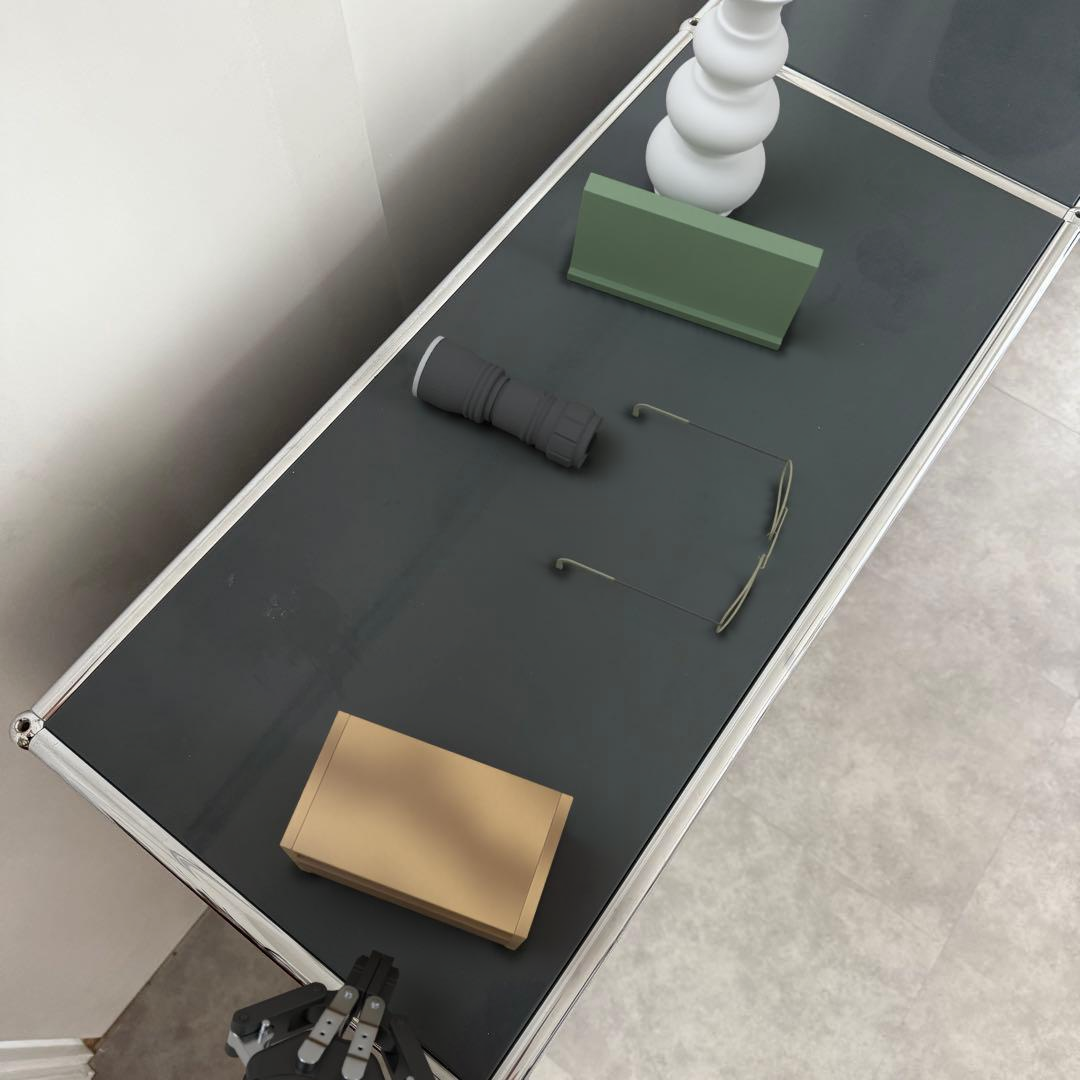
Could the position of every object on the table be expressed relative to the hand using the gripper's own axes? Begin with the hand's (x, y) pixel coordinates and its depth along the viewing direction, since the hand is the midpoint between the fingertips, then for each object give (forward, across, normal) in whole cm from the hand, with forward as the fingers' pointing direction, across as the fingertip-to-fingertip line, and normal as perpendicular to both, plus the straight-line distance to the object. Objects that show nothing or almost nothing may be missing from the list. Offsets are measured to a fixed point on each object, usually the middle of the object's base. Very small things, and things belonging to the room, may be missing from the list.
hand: (380, 963), depth 69 cm
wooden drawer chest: (+10, 0, -2) cm, 10 cm away
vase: (+56, -1, -48) cm, 74 cm away
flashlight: (+35, +7, -26) cm, 44 cm away
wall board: (+47, -3, -39) cm, 61 cm away
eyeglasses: (+32, -9, -24) cm, 41 cm away
